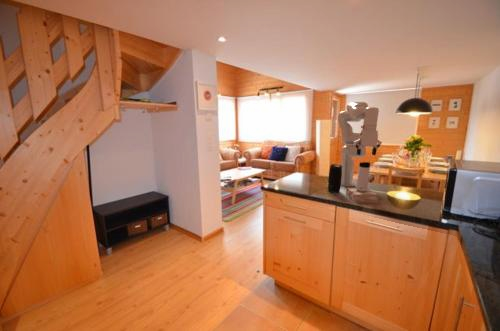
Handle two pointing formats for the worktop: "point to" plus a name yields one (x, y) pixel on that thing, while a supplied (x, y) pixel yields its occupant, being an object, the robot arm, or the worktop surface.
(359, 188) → the travel mug
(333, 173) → the portable speaker
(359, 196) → the wood stand
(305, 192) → the worktop surface
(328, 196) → the worktop surface
